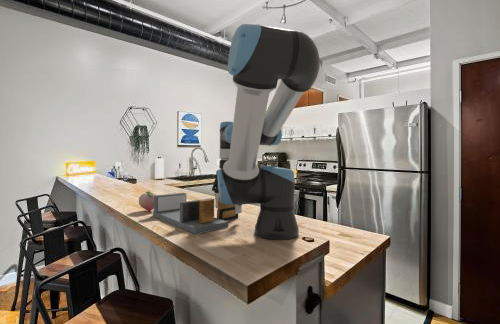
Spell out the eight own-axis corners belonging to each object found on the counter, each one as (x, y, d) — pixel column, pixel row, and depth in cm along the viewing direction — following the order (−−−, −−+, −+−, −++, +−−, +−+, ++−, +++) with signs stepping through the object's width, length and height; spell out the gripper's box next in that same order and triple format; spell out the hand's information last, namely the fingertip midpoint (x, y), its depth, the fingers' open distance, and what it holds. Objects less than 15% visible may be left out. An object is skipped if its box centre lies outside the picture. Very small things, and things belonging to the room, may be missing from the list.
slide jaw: (223, 219, 100) (223, 198, 100) (190, 225, 90) (191, 202, 90) (210, 215, 106) (210, 195, 106) (179, 220, 97) (179, 199, 96)
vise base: (228, 226, 98) (228, 203, 98) (195, 234, 88) (195, 207, 88) (181, 211, 123) (182, 192, 123) (152, 215, 114) (152, 195, 114)
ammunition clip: (219, 222, 105) (219, 192, 104) (216, 221, 106) (216, 192, 106) (238, 217, 113) (238, 190, 112) (235, 217, 114) (235, 189, 114)
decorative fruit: (135, 210, 123) (135, 189, 123) (152, 208, 129) (152, 188, 129) (143, 214, 116) (143, 192, 116) (160, 211, 122) (161, 190, 122)
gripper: (255, 160, 102) (255, 214, 103) (218, 158, 120) (217, 204, 121) (241, 160, 97) (240, 217, 98) (204, 158, 115) (203, 206, 116)
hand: (227, 210), depth 109 cm, fingers open, 13 cm apart
